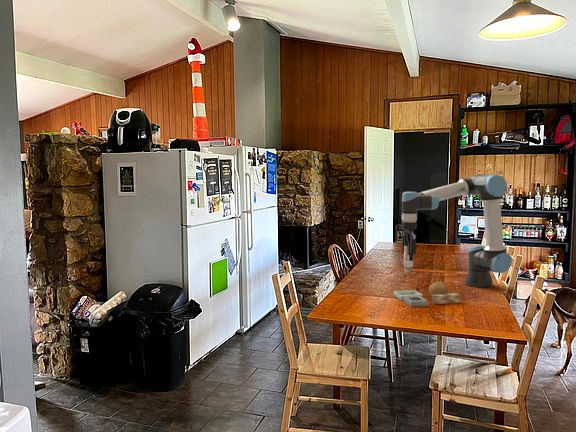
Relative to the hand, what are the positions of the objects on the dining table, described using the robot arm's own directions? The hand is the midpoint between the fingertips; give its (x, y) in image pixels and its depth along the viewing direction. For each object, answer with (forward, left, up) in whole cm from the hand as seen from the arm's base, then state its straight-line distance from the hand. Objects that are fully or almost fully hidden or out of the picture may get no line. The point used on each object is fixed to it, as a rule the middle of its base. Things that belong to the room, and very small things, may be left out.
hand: (408, 265), depth 239 cm
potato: (-15, +4, -17) cm, 23 cm away
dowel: (0, 0, -4) cm, 4 cm away
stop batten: (-15, +12, -17) cm, 26 cm away
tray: (0, 0, -17) cm, 17 cm away
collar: (+1, +11, -17) cm, 20 cm away
